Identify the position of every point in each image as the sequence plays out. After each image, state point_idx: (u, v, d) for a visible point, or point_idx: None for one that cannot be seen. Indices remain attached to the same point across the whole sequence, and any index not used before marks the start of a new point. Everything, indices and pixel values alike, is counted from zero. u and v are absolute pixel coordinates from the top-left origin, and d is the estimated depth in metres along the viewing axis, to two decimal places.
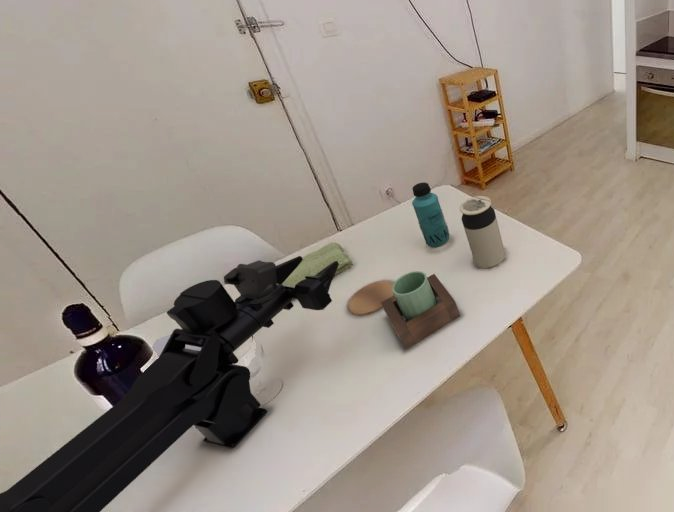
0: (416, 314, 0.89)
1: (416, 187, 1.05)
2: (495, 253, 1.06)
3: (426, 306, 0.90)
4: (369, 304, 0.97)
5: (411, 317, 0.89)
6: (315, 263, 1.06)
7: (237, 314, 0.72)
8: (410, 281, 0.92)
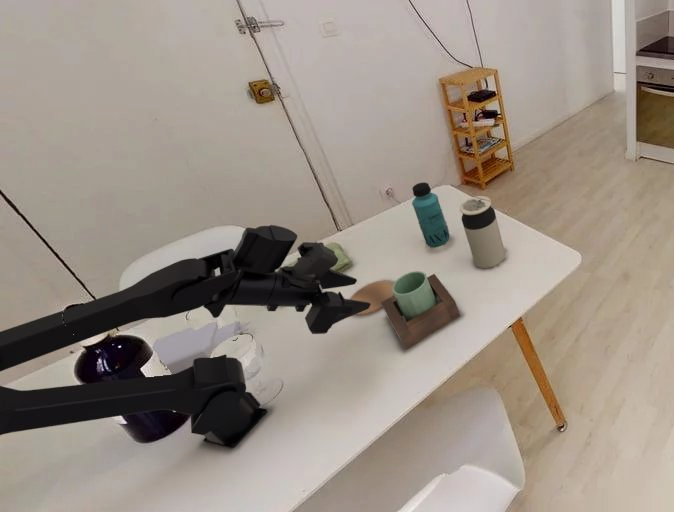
0: (416, 314, 0.89)
1: (416, 187, 1.05)
2: (495, 253, 1.06)
3: (426, 306, 0.90)
4: None
5: (411, 317, 0.89)
6: None
7: (270, 276, 0.69)
8: (410, 281, 0.92)
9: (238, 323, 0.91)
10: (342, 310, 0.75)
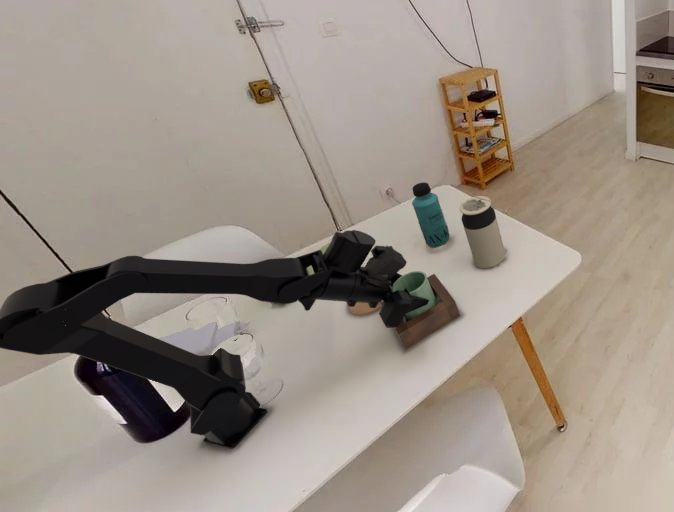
0: (416, 314, 0.89)
1: (416, 187, 1.05)
2: (495, 253, 1.06)
3: (426, 306, 0.90)
4: None
5: (411, 317, 0.89)
6: None
7: (351, 275, 0.79)
8: (410, 281, 0.92)
9: (238, 323, 0.91)
10: None
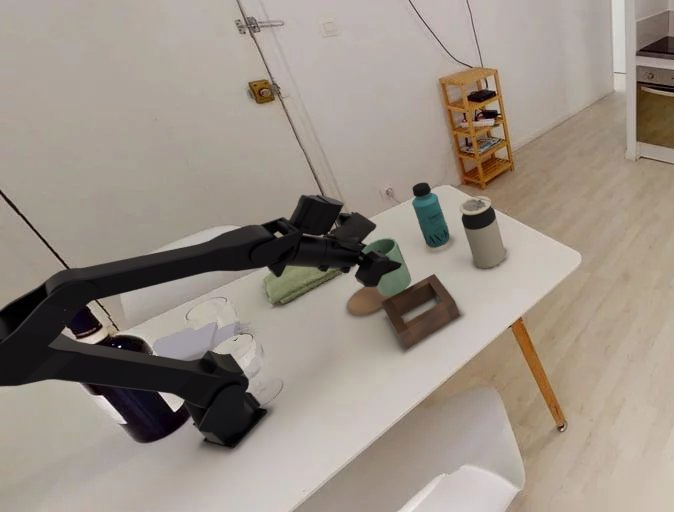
0: (389, 279, 0.89)
1: (416, 187, 1.05)
2: (495, 253, 1.06)
3: (399, 270, 0.90)
4: (369, 304, 0.97)
5: (384, 283, 0.89)
6: None
7: (321, 239, 0.77)
8: (377, 249, 0.91)
9: (238, 323, 0.91)
10: None
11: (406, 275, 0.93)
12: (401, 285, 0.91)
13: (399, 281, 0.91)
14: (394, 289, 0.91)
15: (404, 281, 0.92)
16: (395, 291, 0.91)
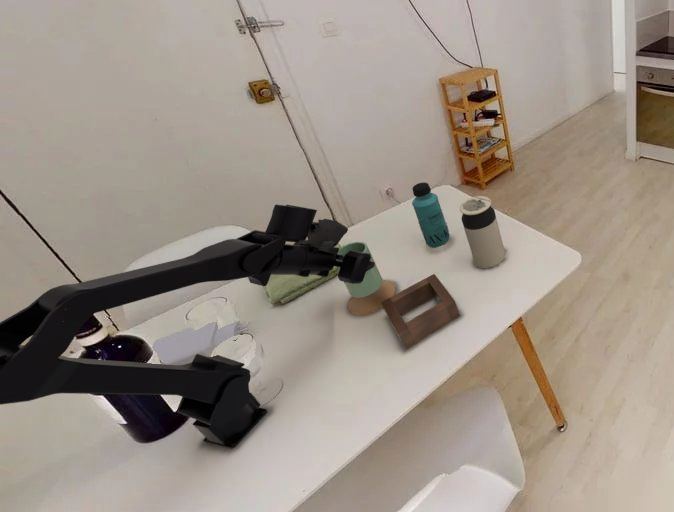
0: (365, 279, 0.93)
1: (416, 187, 1.05)
2: (495, 253, 1.06)
3: (372, 270, 0.94)
4: (369, 304, 0.97)
5: (360, 284, 0.93)
6: None
7: (299, 246, 0.80)
8: None
9: (238, 323, 0.91)
10: None
11: (378, 274, 0.97)
12: (376, 284, 0.96)
13: (374, 280, 0.95)
14: (369, 289, 0.95)
15: (378, 280, 0.96)
16: (371, 291, 0.95)
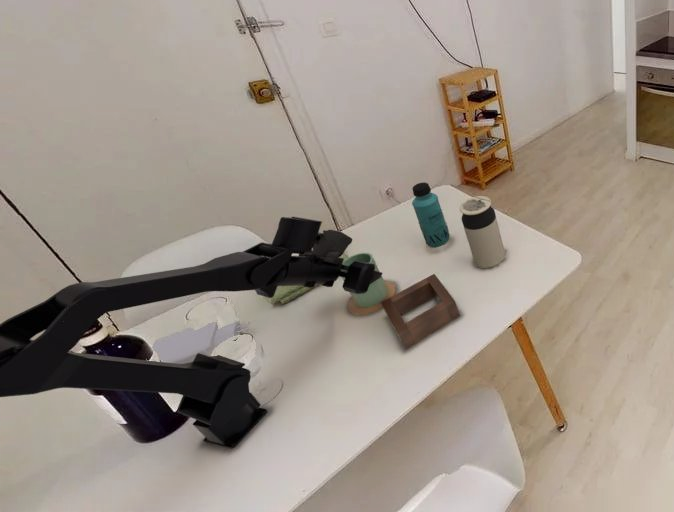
0: (371, 289, 0.95)
1: (416, 187, 1.05)
2: (495, 253, 1.06)
3: (378, 280, 0.96)
4: None
5: (366, 294, 0.94)
6: None
7: (304, 257, 0.82)
8: None
9: (238, 323, 0.91)
10: None
11: (384, 284, 0.99)
12: (381, 294, 0.97)
13: (379, 290, 0.97)
14: (375, 299, 0.96)
15: (383, 290, 0.98)
16: (376, 301, 0.97)
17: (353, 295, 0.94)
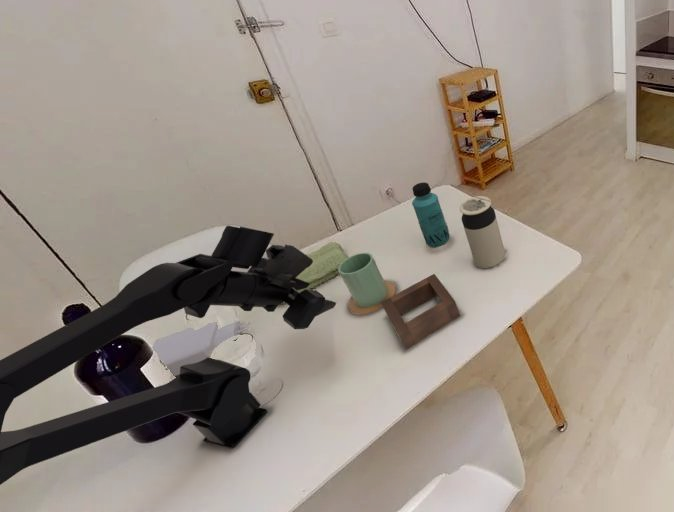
0: (371, 289, 0.95)
1: (416, 187, 1.05)
2: (495, 253, 1.06)
3: (378, 280, 0.96)
4: None
5: (366, 294, 0.94)
6: (315, 263, 1.06)
7: (248, 274, 0.72)
8: (351, 266, 0.96)
9: (238, 323, 0.91)
10: None
11: (384, 284, 0.99)
12: (381, 294, 0.97)
13: (379, 290, 0.97)
14: (375, 299, 0.96)
15: (383, 290, 0.98)
16: (376, 301, 0.97)
17: (353, 295, 0.94)
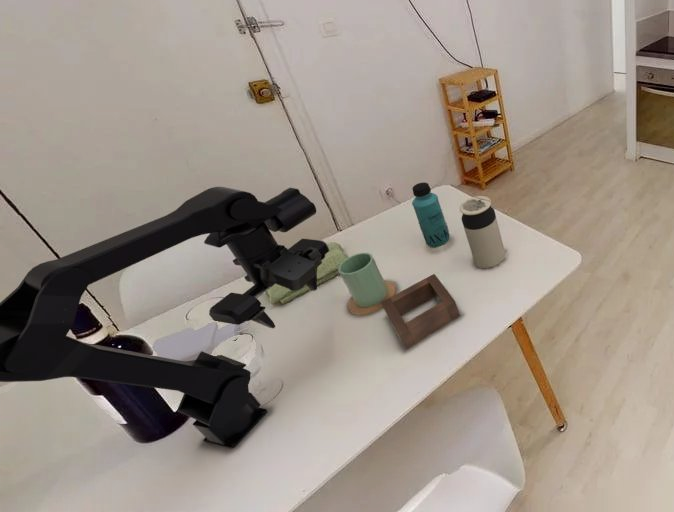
0: (371, 289, 0.95)
1: (416, 187, 1.05)
2: (495, 253, 1.06)
3: (378, 280, 0.96)
4: None
5: (366, 294, 0.94)
6: None
7: None
8: (351, 266, 0.96)
9: None
10: None
11: (384, 284, 0.99)
12: (381, 294, 0.97)
13: (379, 290, 0.97)
14: (375, 299, 0.96)
15: (383, 290, 0.98)
16: (376, 301, 0.97)
17: (353, 295, 0.94)
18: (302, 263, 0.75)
